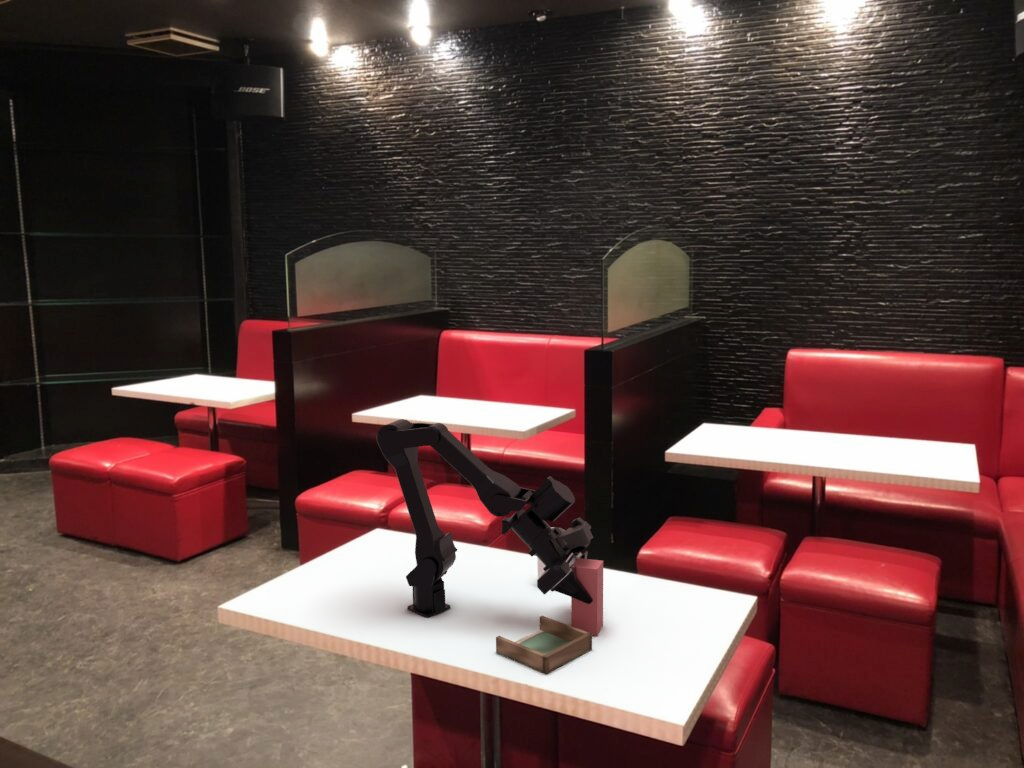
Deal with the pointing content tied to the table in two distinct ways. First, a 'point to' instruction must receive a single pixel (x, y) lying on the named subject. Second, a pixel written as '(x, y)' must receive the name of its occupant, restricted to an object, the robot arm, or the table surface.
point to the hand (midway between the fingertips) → (594, 596)
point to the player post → (592, 580)
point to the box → (547, 646)
